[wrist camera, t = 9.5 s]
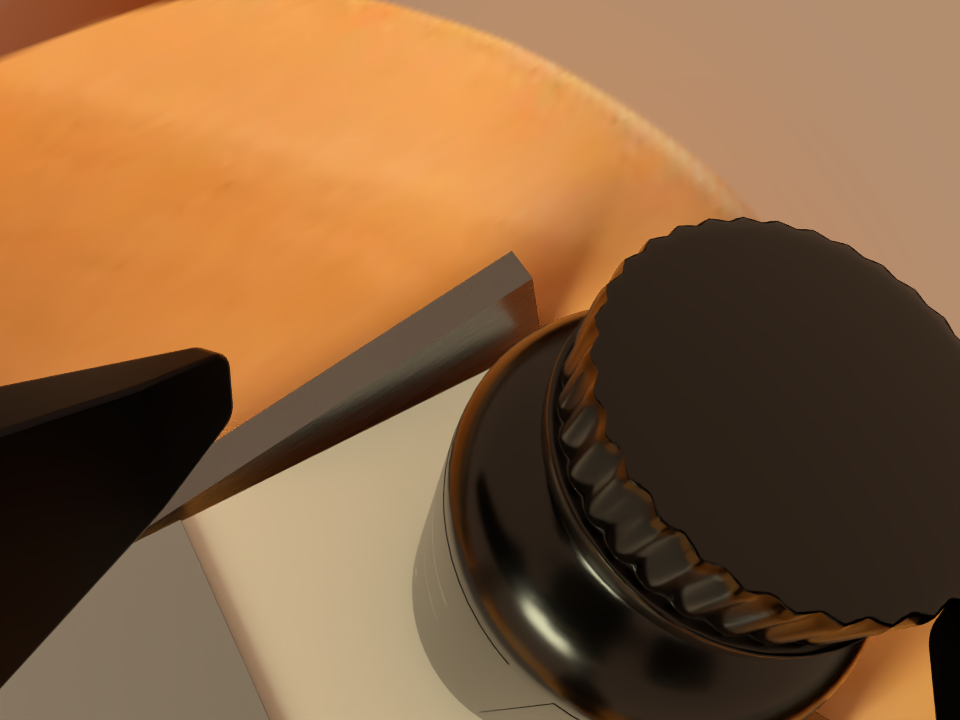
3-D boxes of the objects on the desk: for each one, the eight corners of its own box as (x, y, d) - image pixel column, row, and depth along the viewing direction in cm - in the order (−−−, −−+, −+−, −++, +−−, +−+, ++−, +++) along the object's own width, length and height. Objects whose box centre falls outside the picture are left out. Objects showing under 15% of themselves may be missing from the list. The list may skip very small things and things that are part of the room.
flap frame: (262, 1145, 17) (139, 1370, 12) (69, 612, 22) (-72, 625, 17) (832, 741, 18) (925, 804, 13) (524, 316, 23) (511, 250, 18)
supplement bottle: (663, 491, 19) (1034, 223, 9) (660, 762, 16) (1255, 847, 5) (432, 442, 19) (536, 96, 8) (377, 713, 15) (436, 700, 5)
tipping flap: (140, 1245, 13) (87, 1379, 10) (-32, 668, 17) (-102, 659, 14) (736, 712, 19) (796, 712, 17) (512, 386, 23) (533, 345, 21)
